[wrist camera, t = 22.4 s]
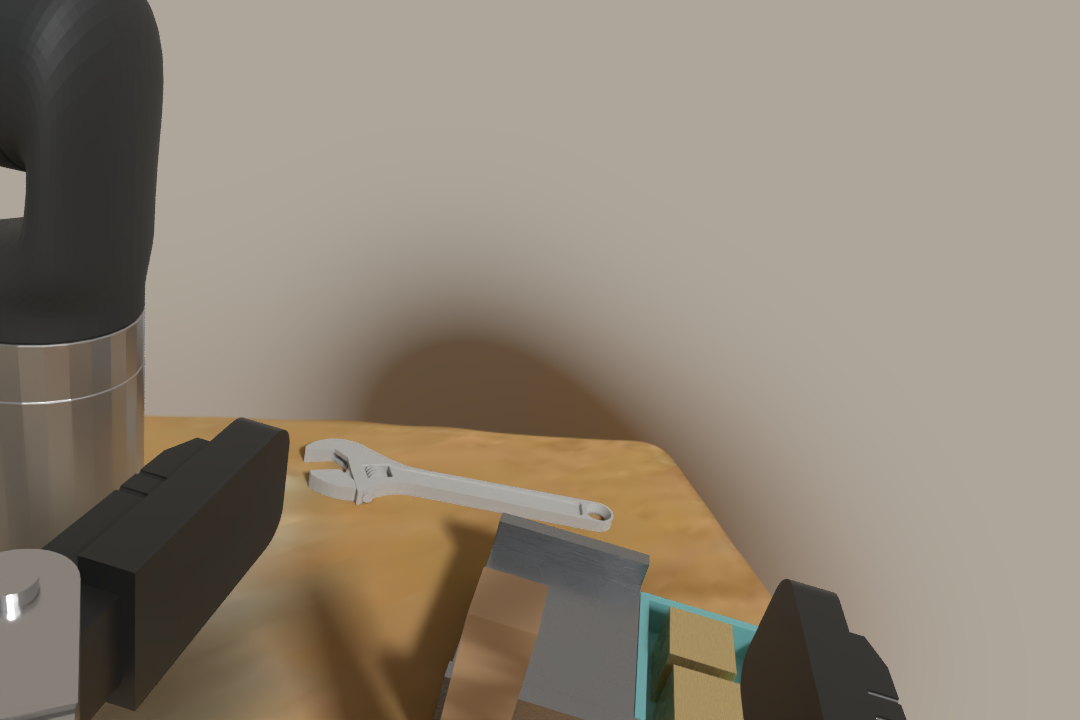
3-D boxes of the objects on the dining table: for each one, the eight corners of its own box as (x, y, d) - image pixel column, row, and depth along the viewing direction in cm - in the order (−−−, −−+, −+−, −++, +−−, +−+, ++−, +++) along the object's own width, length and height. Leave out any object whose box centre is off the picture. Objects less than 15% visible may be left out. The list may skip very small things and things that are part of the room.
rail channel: (424, 757, 38) (444, 676, 36) (484, 581, 51) (502, 512, 49) (609, 815, 38) (642, 737, 35) (624, 622, 51) (649, 555, 48)
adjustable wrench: (608, 519, 62) (613, 502, 61) (609, 570, 56) (615, 552, 55) (316, 448, 61) (319, 430, 60) (287, 493, 55) (289, 473, 55)
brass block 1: (669, 653, 43) (736, 673, 43) (670, 606, 46) (732, 624, 46) (649, 700, 44) (714, 721, 44) (651, 651, 48) (711, 670, 48)
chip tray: (615, 817, 38) (631, 780, 37) (628, 624, 51) (641, 591, 49) (786, 871, 37) (809, 835, 36) (756, 662, 50) (772, 630, 49)
